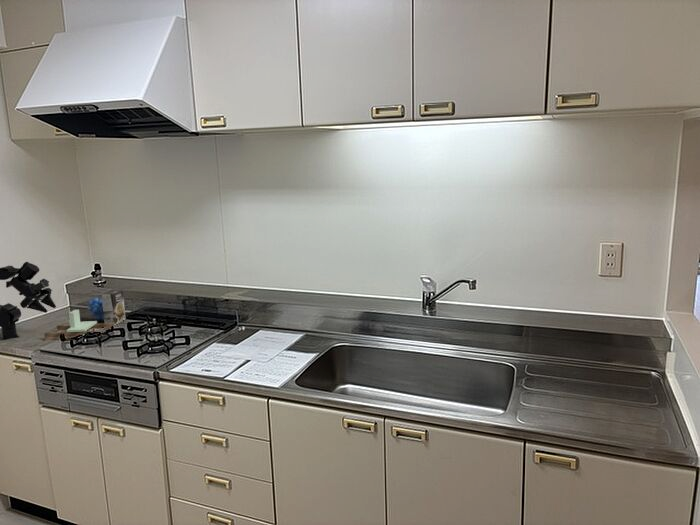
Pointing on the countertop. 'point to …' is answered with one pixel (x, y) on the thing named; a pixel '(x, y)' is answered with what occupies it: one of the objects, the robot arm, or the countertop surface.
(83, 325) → the mint green l-shaped block
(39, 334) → the countertop surface
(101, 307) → the grapes
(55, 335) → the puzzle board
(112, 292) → the coffee box
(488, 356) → the countertop surface
